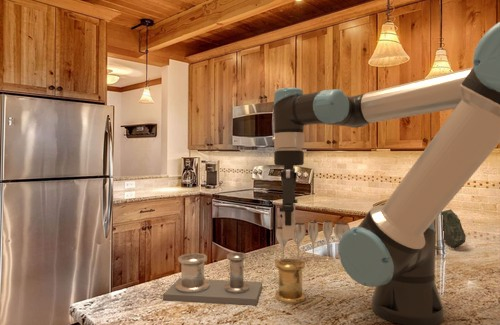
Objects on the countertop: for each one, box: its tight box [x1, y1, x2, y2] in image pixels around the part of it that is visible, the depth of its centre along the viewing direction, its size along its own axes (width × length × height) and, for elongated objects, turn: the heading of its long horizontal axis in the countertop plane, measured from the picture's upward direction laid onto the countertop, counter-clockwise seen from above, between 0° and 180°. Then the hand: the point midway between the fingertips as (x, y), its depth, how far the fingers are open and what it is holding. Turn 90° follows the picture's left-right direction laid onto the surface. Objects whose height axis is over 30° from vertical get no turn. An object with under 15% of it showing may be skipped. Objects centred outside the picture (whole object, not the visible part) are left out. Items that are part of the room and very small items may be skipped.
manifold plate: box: [162, 277, 263, 306], centre depth 94 cm, size 24×12×2 cm, turn 81°
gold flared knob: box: [274, 258, 306, 304], centre depth 91 cm, size 8×8×9 cm
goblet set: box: [275, 220, 351, 263], centre depth 124 cm, size 28×6×13 cm, turn 106°
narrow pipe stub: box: [225, 251, 249, 294], centre depth 93 cm, size 6×6×9 cm
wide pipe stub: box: [176, 252, 210, 293], centre depth 95 cm, size 9×9×8 cm
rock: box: [441, 209, 467, 248], centre depth 141 cm, size 18×6×14 cm, turn 162°
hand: (289, 232), depth 91 cm, fingers open, 13 cm apart
